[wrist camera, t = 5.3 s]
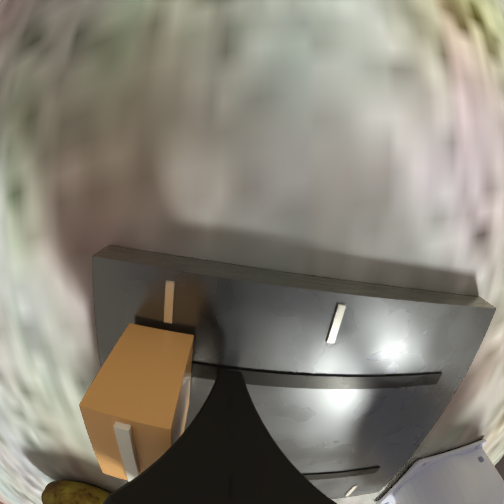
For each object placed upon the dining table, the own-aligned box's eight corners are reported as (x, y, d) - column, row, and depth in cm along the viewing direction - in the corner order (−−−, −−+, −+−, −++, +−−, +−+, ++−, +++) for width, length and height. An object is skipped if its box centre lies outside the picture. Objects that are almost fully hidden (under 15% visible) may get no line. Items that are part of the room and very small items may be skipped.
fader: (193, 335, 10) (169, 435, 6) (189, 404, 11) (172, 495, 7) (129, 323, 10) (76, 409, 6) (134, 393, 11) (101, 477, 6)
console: (479, 296, 12) (497, 309, 11) (374, 477, 17) (379, 492, 15) (109, 245, 11) (91, 256, 9) (132, 467, 15) (127, 484, 14)
